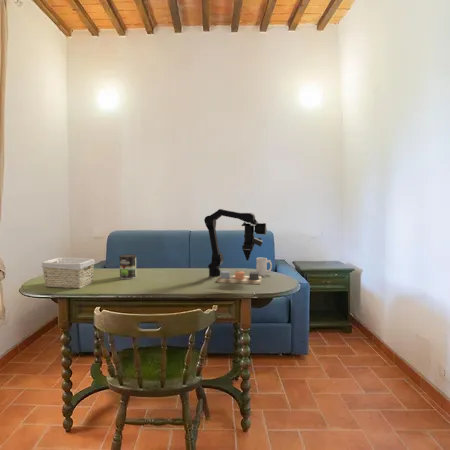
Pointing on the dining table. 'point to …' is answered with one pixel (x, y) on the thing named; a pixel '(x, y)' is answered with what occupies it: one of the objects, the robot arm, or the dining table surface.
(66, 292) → the dining table surface
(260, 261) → the mug
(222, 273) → the blue-grey cube
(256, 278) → the dark grey cube
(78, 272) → the storage basket
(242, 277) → the orange cube
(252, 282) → the birch panel
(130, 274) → the coffee can
